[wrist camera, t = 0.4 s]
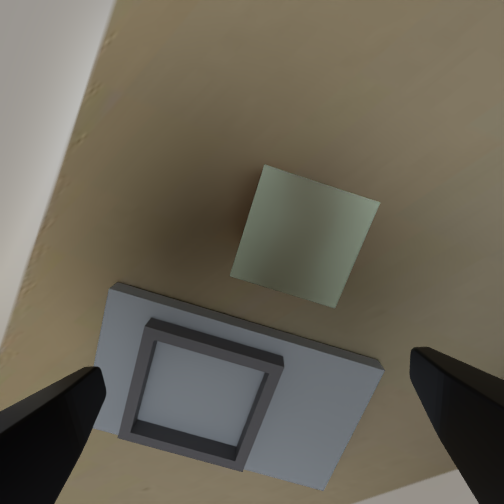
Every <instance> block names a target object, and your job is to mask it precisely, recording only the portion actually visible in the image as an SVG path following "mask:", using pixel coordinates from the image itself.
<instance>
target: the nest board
mask: <svg viewBox="0 0 504 504" xmlns="http://www.w3.org/2000/svg"><path fill="white" fill-rule="evenodd" d="M94 366H98V367H100V369H101V370H102V374H103V378H104V382H105V386H106V398H105V401H104V403H103V405H102V407H101V410H100V412H99V414H98V417H97V419H96V421H95V424H94V426H93V428H94V429H98V430H102V431H105V432H109V433H113V434H116V435H118V438H119V439H123V440H127V441H130V442H134V443H138V444H141V445H145V446H149V447H153V448H156V449H160V450H164V451H167V452H171V453H175V454H178V455H182V456H186V457H189V458H193V459H197V460H200V461H204V462H208V463H211V464H215V465H219V466H222V467H226V468H230V469H233V470H237V471H241V472H243V469H245V470H248V471H252V472H256V473H259V474H263V475H267V476H270V477H274V478H278V479H282V480H285V481H289V482H293V483H296V484H300V485H304V486H307V487H311V488H315V489H318V490H322V491H324V489H325V487H326V485H327V483H328V481H329V479H330V477H331V475H332V473H333V471H334V469H335V467H336V465H337V463H338V461H339V459H340V457H341V456H342V454H343V452H344V450H345V448H346V446H347V444H348V442H349V440H350V438H351V436H352V434H353V432H354V430H355V428H356V426H357V424H358V422H359V420H360V418H361V416H362V414H363V412H364V410H365V408H366V407H367V405H368V403H369V401H370V399H371V397H372V395H373V393H374V391H375V389H376V387H377V385H378V383H379V381H380V379H381V377H382V375H383V373H384V371H385V370H384V369H383V367H382V365H381V364H380V362H379V361H378V360H376V359H373V358H369V357H366V356H363V355H359V354H356V353H353V352H349V351H346V350H343V349H339V348H336V347H333V346H329V345H326V344H323V343H319V342H316V341H313V340H309V339H306V338H303V337H299V336H296V335H292V334H289V333H286V332H282V331H279V330H276V329H272V328H269V327H266V326H262V325H259V324H256V323H252V322H249V321H246V320H242V319H239V318H236V317H232V316H229V315H226V314H222V313H219V312H216V311H212V310H209V309H206V308H202V307H199V306H196V305H192V304H189V303H186V302H182V301H179V300H176V299H172V298H169V297H166V296H162V295H159V294H156V293H152V292H149V291H146V290H142V289H139V288H136V287H132V286H129V285H126V284H122V283H119V282H117V283H116V284H114V285H113V286H112V287H110V288H109V291H108V296H107V301H106V306H105V312H104V317H103V322H102V327H101V332H100V337H99V342H98V347H97V352H96V357H95V362H94Z"/></svg>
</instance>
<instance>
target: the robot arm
mask: <svg viewBox="0 0 504 504" xmlns="http://www.w3.org/2000/svg"><path fill="white" fill-rule="evenodd" d="M410 379H411V382H412V384H413V386H414V388H415V390H416V392H417V394H418V396H419V398H420V400H421V402H422V405H423V407H424V409H425V411H426V413H427V415H428V417H429V419H430V421H431V423H432V425H433V427H434V429H435V431H436V433H437V435H438V437H439V439H440V440H441V442H442V444H443V445H444V447H445V449H446V450H447V452H448V454H449V455H450V457H451V459H452V460H453V462H454V463H455V465H456V467H457V468H458V470H459V471H460V473H461V475H462V477H463V478H464V480H465V481H466V483H467V485H468V486H469V488H470V490H471V491H472V493H473V494H474V496H475V498H476V499H477V501H478V503H479V504H504V380H502V379H500V378H498V377H495V376H493V375H491V374H488V373H486V372H484V371H482V370H479V369H477V368H475V367H473V366H470V365H468V364H466V363H464V362H461V361H459V360H457V359H455V358H452V357H450V356H448V355H446V354H443V353H441V352H439V351H437V350H434V349H432V348H430V347H414V348H413V349H412V350H411V354H410ZM105 398H106V386H105V382H104V378H103V374H102V370H101V369H100V367H98V366H92V367H84V368H82V369H80V370H78V371H76V372H74V373H72V374H70V375H68V376H67V377H65V378H63V379H61V380H59V381H57V382H55V383H53V384H51V385H50V386H48V387H46V388H44V389H42V390H40V391H38V392H36V393H34V394H33V395H31V396H29V397H27V398H25V399H23V400H21V401H19V402H17V403H16V404H14V405H12V406H10V407H8V408H6V409H4V410H2V411H0V504H54V503H55V501H56V500H57V498H58V496H59V494H60V492H61V490H62V488H63V487H64V485H65V483H66V481H67V479H68V477H69V475H70V474H71V472H72V470H73V468H74V466H75V464H76V462H77V461H78V459H79V457H80V455H81V453H82V451H83V448H84V446H85V444H86V442H87V440H88V437H89V435H90V433H91V430H92V428H93V426H94V424H95V421H96V419H97V417H98V414H99V412H100V410H101V407H102V405H103V403H104V401H105Z"/></svg>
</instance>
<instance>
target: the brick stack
mask: <svg viewBox="0 0 504 504" xmlns="http://www.w3.org/2000/svg"><path fill="white" fill-rule="evenodd" d="M379 204H380V202H377V201H374V200H371V199H368V198H365V197H362V196H359V195H356V194H353V193H350V192H347V191H344V190H341V189H338V188H335V187H332V186H329V185H326V184H323V183H320V182H317V181H314V180H311V179H308V178H305V177H301V176H298V175H295V174H292V173H289V172H286V171H283V170H280V169H277V168H274V167H271V166H268V165H265V164H264V167H263V170H262V174H261V177H260V180H259V183H258V186H257V190H256V193H255V196H254V199H253V202H252V206H251V209H250V212H249V215H248V218H247V222H246V225H245V228H244V231H243V234H242V238H241V241H240V244H239V247H238V251H237V254H236V257H235V260H234V264H233V267H232V270H231V273H230V276H231V277H234V278H237V279H240V280H244V281H247V282H250V283H253V284H257V285H260V286H263V287H266V288H270V289H273V290H276V291H280V292H283V293H286V294H289V295H293V296H296V297H299V298H302V299H306V300H309V301H312V302H315V303H319V304H322V305H325V306H329V307H332V308H335V307H336V305H337V302H338V300H339V298H340V295H341V293H342V291H343V288H344V286H345V284H346V281H347V279H348V277H349V274H350V272H351V270H352V267H353V265H354V263H355V260H356V258H357V256H358V253H359V251H360V249H361V246H362V244H363V242H364V239H365V237H366V235H367V232H368V230H369V228H370V225H371V223H372V221H373V218H374V216H375V214H376V211H377V209H378V207H379Z"/></svg>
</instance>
